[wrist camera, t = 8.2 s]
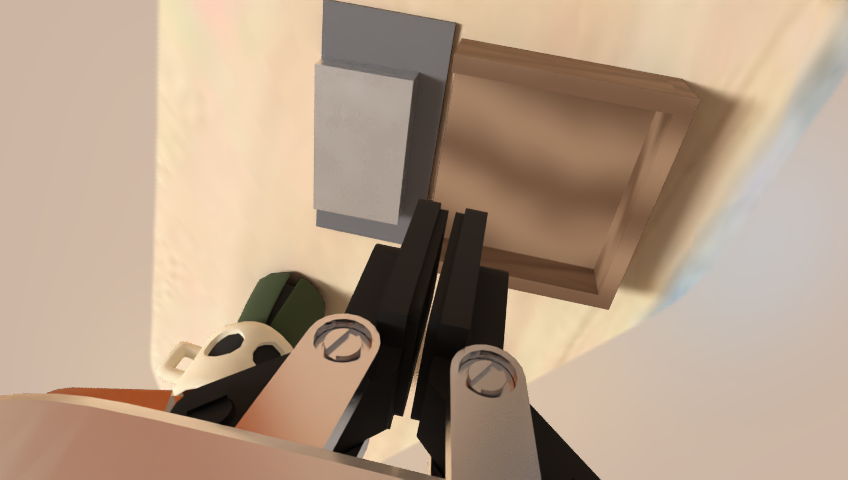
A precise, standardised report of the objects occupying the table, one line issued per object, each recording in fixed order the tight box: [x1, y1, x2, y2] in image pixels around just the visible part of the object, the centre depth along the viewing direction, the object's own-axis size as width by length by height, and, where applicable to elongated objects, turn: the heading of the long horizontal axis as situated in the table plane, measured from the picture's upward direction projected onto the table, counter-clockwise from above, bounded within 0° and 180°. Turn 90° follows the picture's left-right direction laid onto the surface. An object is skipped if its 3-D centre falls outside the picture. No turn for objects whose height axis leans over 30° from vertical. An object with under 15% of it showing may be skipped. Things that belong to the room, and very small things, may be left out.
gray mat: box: [316, 0, 456, 244], centre depth 35 cm, size 16×8×1 cm, turn 172°
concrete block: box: [314, 56, 419, 225], centre depth 35 cm, size 10×6×2 cm, turn 173°
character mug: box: [156, 273, 325, 396], centre depth 39 cm, size 11×7×13 cm, turn 73°
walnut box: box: [433, 38, 701, 310], centre depth 33 cm, size 14×13×4 cm
